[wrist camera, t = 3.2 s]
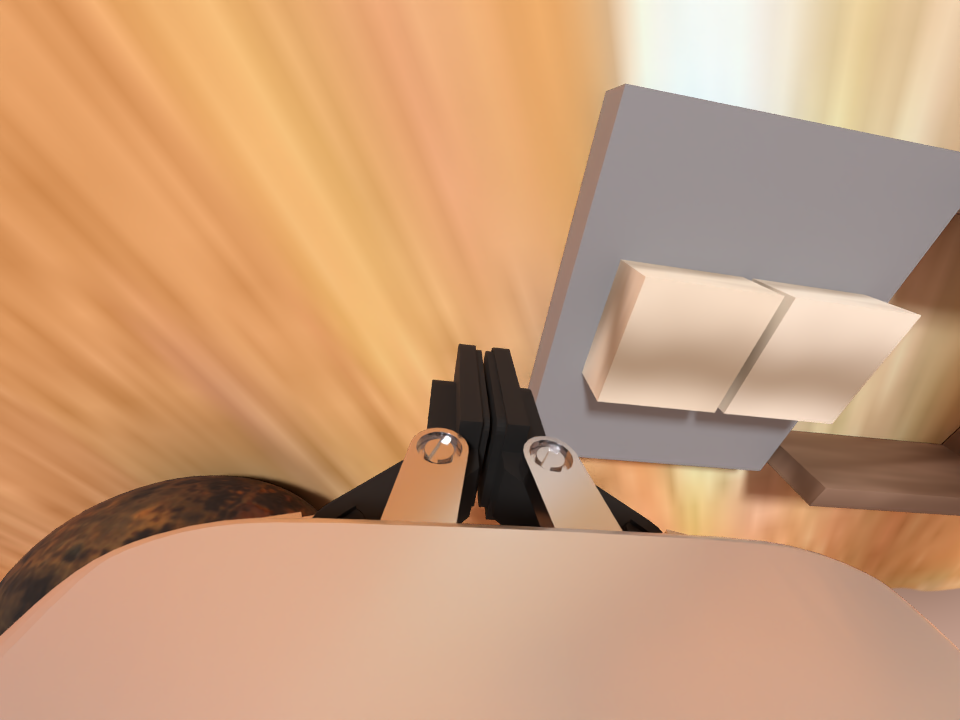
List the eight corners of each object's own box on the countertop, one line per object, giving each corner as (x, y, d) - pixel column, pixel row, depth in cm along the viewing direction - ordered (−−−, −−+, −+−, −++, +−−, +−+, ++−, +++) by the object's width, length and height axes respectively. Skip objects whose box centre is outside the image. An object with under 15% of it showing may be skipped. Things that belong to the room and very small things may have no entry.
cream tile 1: (620, 259, 16) (645, 276, 14) (743, 277, 17) (784, 296, 15) (581, 372, 19) (597, 401, 17) (687, 383, 20) (714, 412, 17)
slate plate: (606, 91, 14) (625, 83, 13) (940, 158, 16) (996, 159, 15) (516, 430, 23) (521, 452, 22) (739, 449, 25) (760, 470, 24)
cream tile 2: (752, 278, 17) (795, 297, 15) (864, 294, 17) (921, 315, 15) (695, 384, 20) (723, 413, 18) (792, 394, 20) (831, 423, 18)
